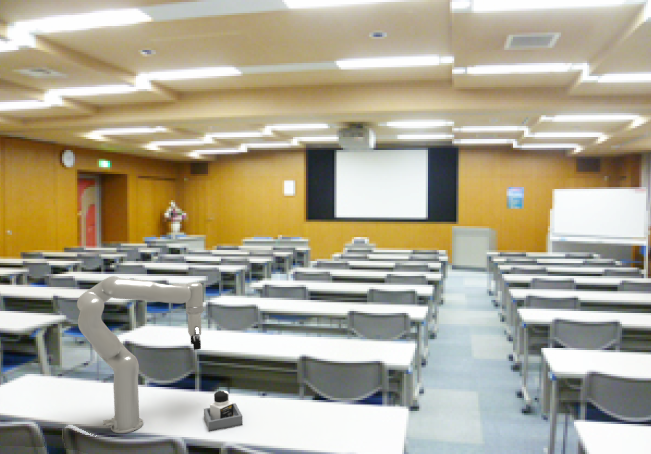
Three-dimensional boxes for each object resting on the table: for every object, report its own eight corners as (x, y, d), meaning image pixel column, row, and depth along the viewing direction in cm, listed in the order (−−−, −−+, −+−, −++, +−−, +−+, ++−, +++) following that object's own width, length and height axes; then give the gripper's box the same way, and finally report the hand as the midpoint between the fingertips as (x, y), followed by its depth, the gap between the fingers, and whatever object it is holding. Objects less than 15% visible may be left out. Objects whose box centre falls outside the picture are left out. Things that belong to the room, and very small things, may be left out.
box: (208, 431, 196) (208, 422, 196) (203, 417, 209) (203, 408, 209) (242, 425, 201) (242, 415, 201) (235, 411, 214) (235, 403, 214)
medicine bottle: (220, 424, 200) (219, 396, 199) (210, 420, 205) (209, 392, 204) (233, 418, 206) (233, 391, 205) (223, 414, 210) (222, 387, 209)
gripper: (184, 306, 225) (185, 342, 226) (188, 314, 209) (189, 352, 210) (200, 305, 228) (201, 340, 228) (205, 312, 212) (206, 350, 212)
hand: (195, 346), depth 219 cm, fingers open, 9 cm apart
